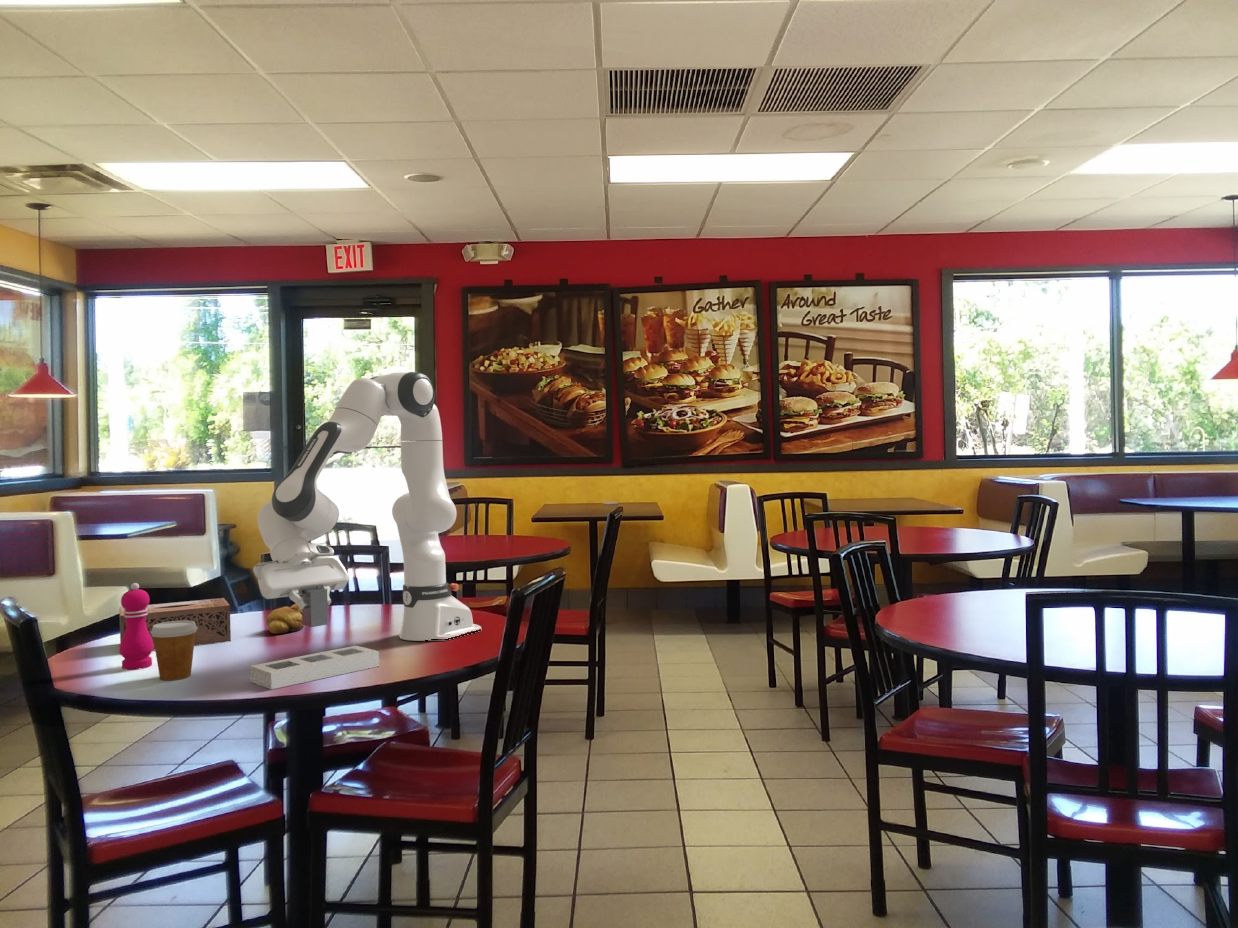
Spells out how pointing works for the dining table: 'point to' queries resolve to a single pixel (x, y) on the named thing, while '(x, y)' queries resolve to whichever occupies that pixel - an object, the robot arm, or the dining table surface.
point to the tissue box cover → (190, 618)
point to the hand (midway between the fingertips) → (316, 605)
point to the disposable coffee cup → (174, 648)
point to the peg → (315, 607)
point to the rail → (313, 667)
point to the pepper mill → (136, 630)
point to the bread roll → (285, 619)
